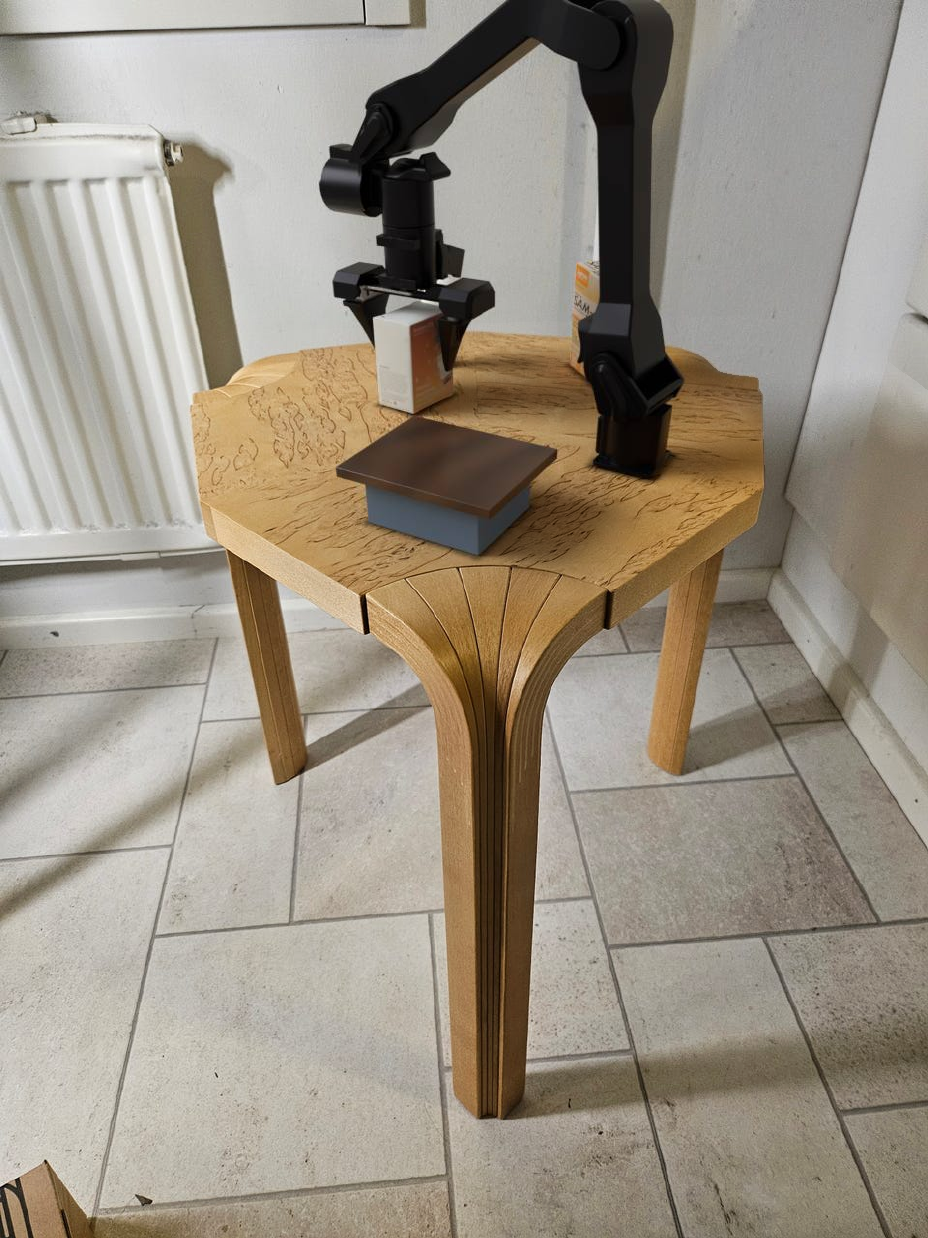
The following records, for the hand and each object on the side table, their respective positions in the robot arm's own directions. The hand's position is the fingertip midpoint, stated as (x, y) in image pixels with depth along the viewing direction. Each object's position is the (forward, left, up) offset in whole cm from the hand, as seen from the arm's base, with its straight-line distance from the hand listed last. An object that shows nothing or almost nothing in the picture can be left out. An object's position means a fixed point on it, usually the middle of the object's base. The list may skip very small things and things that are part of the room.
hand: (415, 363), depth 102 cm
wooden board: (-18, +22, +1) cm, 28 cm away
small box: (0, 0, -5) cm, 5 cm away
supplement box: (-16, -18, -5) cm, 24 cm away
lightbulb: (+3, -12, -5) cm, 13 cm away
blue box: (-18, +22, -4) cm, 29 cm away
